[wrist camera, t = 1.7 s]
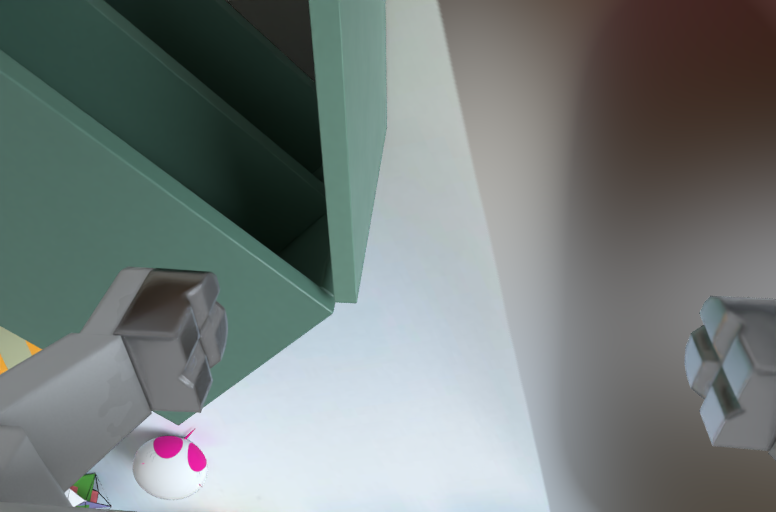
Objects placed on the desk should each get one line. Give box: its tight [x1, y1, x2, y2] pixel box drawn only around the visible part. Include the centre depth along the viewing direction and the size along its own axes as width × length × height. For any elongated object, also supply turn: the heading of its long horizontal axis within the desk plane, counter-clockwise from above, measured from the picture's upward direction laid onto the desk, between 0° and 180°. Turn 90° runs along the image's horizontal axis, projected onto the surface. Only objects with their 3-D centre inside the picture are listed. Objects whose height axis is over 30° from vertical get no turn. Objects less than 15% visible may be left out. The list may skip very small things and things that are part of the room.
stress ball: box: [133, 429, 208, 500], centre depth 63 cm, size 8×8×7 cm
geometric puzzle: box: [64, 473, 112, 509], centre depth 69 cm, size 7×7×8 cm
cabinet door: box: [308, 0, 387, 303], centre depth 27 cm, size 5×20×17 cm, turn 1°
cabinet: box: [0, 0, 335, 425], centre depth 33 cm, size 13×20×17 cm, turn 46°
